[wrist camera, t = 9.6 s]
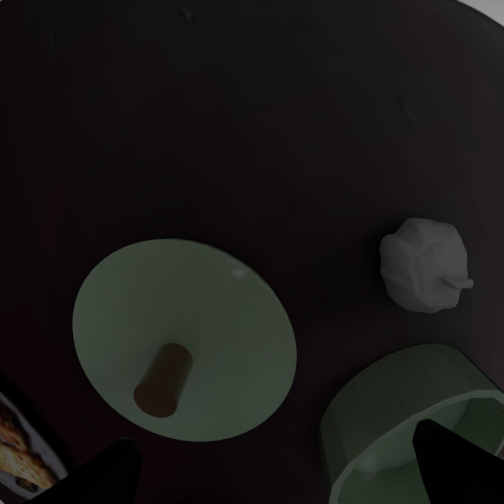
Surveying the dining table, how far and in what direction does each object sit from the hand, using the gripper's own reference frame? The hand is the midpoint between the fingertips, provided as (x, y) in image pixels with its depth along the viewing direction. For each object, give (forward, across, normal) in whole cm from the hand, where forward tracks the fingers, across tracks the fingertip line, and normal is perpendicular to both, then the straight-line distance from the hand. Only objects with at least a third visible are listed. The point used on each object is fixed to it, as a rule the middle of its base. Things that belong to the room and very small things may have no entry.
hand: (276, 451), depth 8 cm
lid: (+11, +6, +3) cm, 13 cm away
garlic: (+12, -9, -3) cm, 15 cm away
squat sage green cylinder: (+11, -10, +11) cm, 19 cm away
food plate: (+11, +34, +16) cm, 39 cm away
